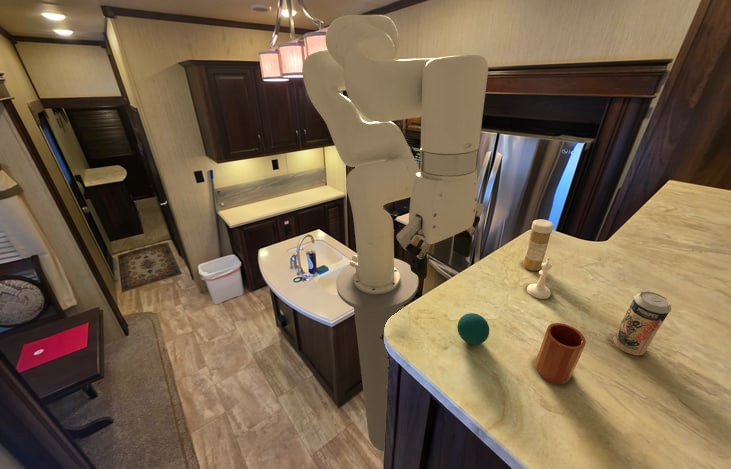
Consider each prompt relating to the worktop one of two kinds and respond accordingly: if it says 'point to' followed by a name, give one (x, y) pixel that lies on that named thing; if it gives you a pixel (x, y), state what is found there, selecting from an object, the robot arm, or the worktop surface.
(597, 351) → the worktop surface
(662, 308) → the beer can
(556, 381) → the tumbler
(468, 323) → the ball
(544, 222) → the sprinkles bottle
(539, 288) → the chess piece
